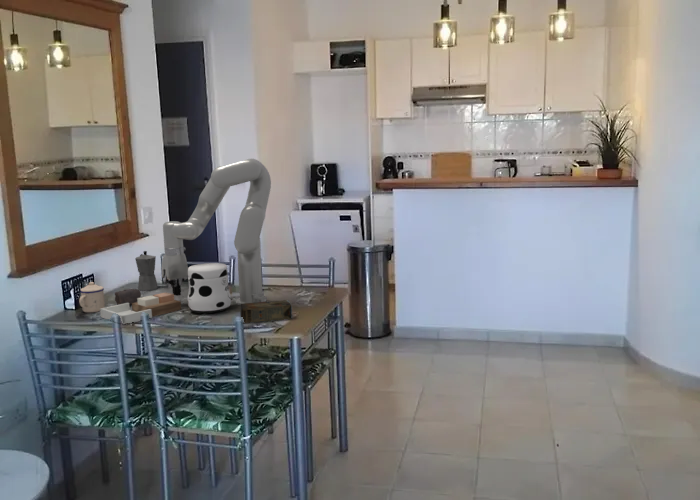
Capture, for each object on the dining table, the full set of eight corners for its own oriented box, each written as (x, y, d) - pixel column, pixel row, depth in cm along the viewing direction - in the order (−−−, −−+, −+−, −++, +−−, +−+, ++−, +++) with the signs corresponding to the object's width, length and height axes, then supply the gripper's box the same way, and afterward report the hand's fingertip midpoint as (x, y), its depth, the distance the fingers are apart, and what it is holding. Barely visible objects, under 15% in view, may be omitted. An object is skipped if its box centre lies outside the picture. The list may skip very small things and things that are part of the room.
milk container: (240, 308, 267) (238, 264, 265) (209, 318, 253) (206, 272, 250) (210, 303, 277) (208, 261, 274) (179, 312, 263) (175, 268, 260)
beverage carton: (292, 319, 248) (292, 303, 247) (241, 324, 244) (240, 307, 242) (289, 314, 256) (288, 298, 255) (240, 319, 251) (239, 302, 250)
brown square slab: (181, 309, 267) (180, 301, 266) (150, 317, 257) (149, 308, 256) (162, 304, 276) (162, 296, 276) (132, 311, 266) (131, 303, 266)
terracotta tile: (174, 300, 269) (173, 294, 268) (161, 303, 264) (160, 297, 264) (166, 298, 273) (166, 292, 272) (153, 300, 268) (153, 295, 268)
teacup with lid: (92, 306, 276) (89, 279, 274) (110, 307, 273) (107, 280, 272) (72, 314, 265) (69, 285, 263) (90, 315, 262) (87, 286, 260)
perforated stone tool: (136, 300, 286) (135, 284, 285) (146, 301, 284) (144, 285, 283) (111, 308, 272) (109, 292, 271) (121, 309, 270) (119, 293, 269)
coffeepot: (162, 289, 305) (159, 251, 302) (141, 292, 300) (138, 254, 297) (153, 284, 318) (150, 247, 315) (133, 287, 313) (130, 249, 310)
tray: (152, 318, 255) (151, 309, 255) (123, 325, 247) (122, 315, 246) (128, 311, 267) (128, 302, 267) (100, 317, 259) (99, 308, 258)
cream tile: (159, 303, 264) (158, 297, 263) (145, 306, 259) (145, 300, 259) (151, 301, 268) (150, 295, 267) (137, 304, 263) (137, 298, 263)
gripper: (184, 248, 278) (187, 290, 281) (152, 253, 267) (156, 297, 270) (194, 249, 273) (197, 292, 276) (162, 255, 262) (165, 299, 265)
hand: (177, 294), depth 273 cm, fingers closed
